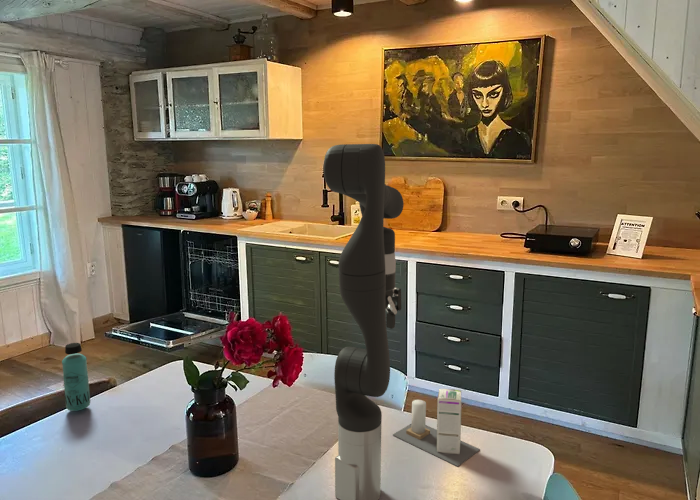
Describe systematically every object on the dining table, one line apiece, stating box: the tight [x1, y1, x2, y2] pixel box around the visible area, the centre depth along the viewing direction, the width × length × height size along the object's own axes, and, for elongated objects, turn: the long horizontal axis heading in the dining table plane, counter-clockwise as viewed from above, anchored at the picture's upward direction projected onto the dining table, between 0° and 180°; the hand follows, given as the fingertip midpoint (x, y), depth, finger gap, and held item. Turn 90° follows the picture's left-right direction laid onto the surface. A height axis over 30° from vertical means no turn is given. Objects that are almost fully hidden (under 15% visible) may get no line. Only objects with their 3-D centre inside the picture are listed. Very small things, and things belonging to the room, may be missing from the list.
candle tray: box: [392, 399, 481, 467], centre depth 139 cm, size 10×20×9 cm, turn 45°
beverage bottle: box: [61, 342, 91, 412], centre depth 154 cm, size 6×7×20 cm
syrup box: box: [436, 388, 462, 454], centre depth 136 cm, size 6×6×14 cm
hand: (379, 331), depth 139 cm, fingers open, 8 cm apart
